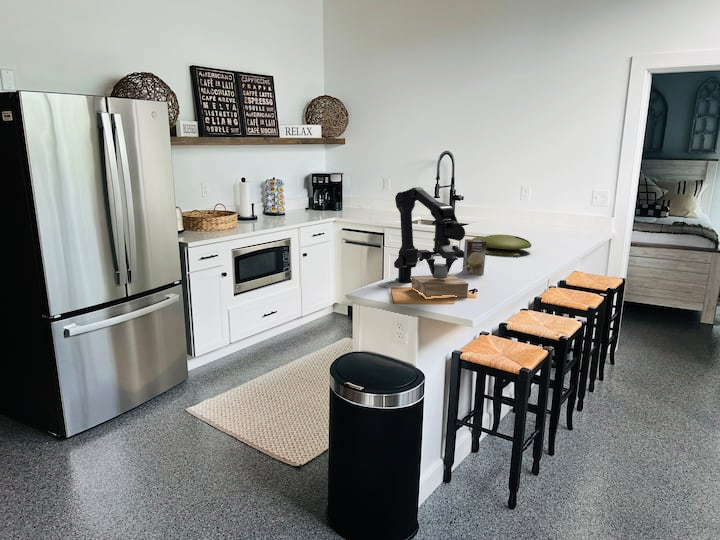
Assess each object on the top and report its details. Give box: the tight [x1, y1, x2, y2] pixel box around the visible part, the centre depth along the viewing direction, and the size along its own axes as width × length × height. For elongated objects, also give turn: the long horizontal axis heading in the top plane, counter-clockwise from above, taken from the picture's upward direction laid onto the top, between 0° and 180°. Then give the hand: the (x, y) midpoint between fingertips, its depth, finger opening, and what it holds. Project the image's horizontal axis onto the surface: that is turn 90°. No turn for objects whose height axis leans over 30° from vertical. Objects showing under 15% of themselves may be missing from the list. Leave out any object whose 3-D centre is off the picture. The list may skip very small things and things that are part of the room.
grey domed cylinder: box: [431, 262, 448, 279], centre depth 217 cm, size 6×6×5 cm
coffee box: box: [462, 238, 486, 276], centre depth 254 cm, size 9×6×16 cm
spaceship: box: [472, 234, 532, 258], centre depth 311 cm, size 35×31×10 cm
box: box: [411, 278, 469, 299], centre depth 219 cm, size 16×18×5 cm
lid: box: [411, 273, 469, 287], centre depth 218 cm, size 16×18×1 cm
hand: (439, 274), depth 217 cm, fingers closed on grey domed cylinder, 6 cm apart
